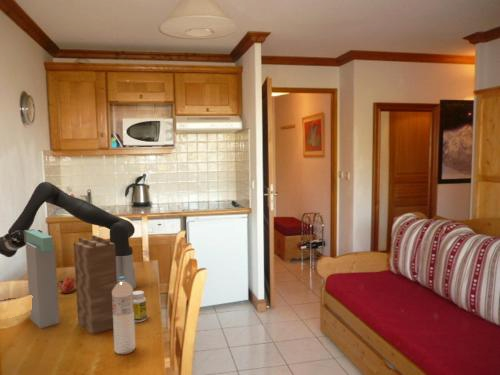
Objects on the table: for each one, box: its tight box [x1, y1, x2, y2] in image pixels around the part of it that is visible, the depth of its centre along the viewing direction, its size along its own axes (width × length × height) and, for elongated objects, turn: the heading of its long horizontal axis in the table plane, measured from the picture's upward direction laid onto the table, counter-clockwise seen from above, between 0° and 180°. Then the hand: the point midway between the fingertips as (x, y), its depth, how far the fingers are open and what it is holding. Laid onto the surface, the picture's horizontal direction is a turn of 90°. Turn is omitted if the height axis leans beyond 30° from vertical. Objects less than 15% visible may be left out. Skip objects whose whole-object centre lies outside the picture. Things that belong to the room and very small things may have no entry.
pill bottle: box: [133, 290, 148, 323], centre depth 162 cm, size 6×6×11 cm
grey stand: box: [25, 243, 60, 329], centre depth 162 cm, size 12×7×31 cm, turn 44°
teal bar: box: [24, 228, 54, 252], centre depth 162 cm, size 24×4×5 cm, turn 43°
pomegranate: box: [58, 276, 76, 294], centre depth 197 cm, size 7×7×10 cm
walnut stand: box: [73, 235, 117, 335], centre depth 157 cm, size 14×10×34 cm
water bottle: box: [111, 276, 136, 355], centre depth 137 cm, size 7×7×25 cm
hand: (29, 233), depth 173 cm, fingers open, 8 cm apart
